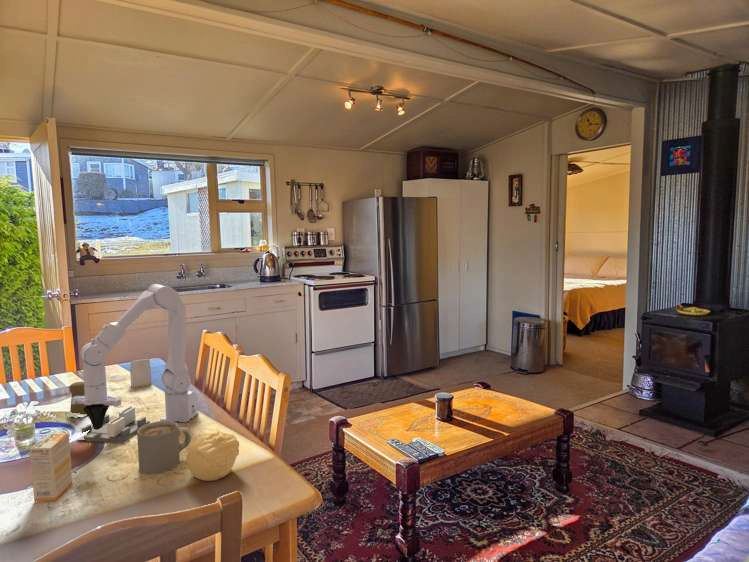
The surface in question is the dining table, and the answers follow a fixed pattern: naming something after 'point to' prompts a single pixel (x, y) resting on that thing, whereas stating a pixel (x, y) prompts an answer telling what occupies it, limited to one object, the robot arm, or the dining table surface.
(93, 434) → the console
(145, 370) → the beige rectangular box
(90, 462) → the dining table surface
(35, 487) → the supplement box
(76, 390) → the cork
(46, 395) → the dining table surface
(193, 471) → the sculpture
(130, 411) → the far fader cap
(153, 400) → the dining table surface
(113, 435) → the near fader cap
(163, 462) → the coffee mug
